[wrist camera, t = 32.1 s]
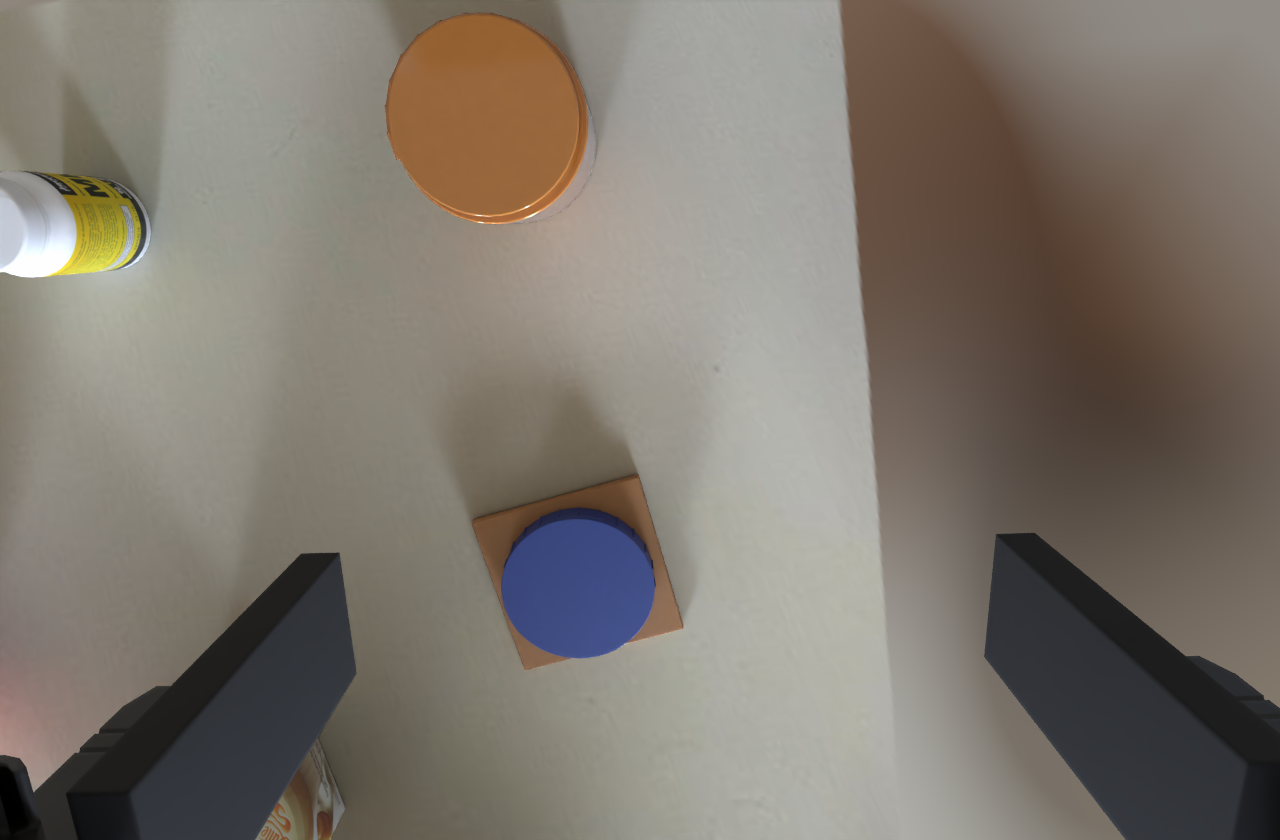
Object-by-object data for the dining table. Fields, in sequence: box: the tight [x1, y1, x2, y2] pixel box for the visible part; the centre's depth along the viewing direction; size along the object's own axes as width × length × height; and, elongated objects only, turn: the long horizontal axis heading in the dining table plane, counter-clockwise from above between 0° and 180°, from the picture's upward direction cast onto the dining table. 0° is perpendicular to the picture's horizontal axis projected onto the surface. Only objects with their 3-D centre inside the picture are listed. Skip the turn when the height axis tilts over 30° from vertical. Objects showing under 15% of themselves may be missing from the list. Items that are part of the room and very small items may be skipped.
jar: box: [385, 13, 596, 224], centre depth 35 cm, size 8×8×10 cm
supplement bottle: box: [0, 171, 151, 277], centre depth 37 cm, size 5×5×8 cm
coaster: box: [472, 475, 683, 670], centre depth 46 cm, size 10×10×1 cm
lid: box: [501, 507, 656, 658], centre depth 45 cm, size 9×9×2 cm
